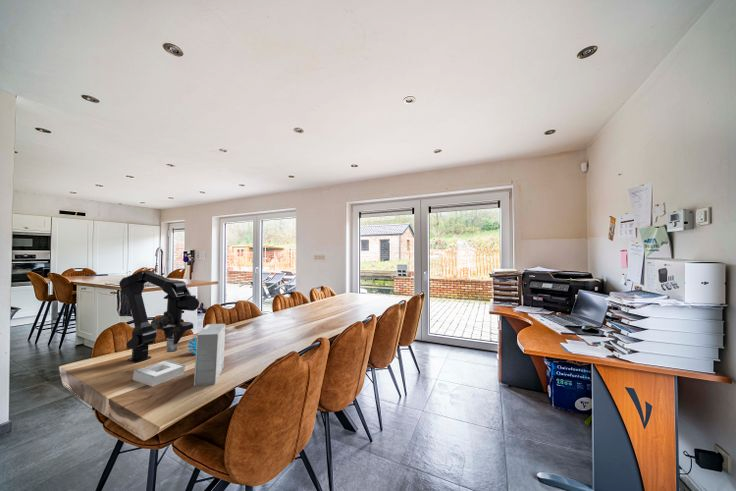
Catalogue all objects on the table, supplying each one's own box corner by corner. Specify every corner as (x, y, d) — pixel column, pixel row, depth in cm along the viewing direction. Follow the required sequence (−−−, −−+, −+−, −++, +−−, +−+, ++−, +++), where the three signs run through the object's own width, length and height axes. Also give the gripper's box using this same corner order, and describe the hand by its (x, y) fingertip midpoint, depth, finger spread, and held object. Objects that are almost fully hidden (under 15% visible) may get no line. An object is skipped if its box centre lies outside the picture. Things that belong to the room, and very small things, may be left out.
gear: (188, 354, 129) (188, 335, 135) (184, 360, 131) (185, 342, 137) (213, 352, 136) (212, 335, 142) (209, 358, 139) (209, 341, 145)
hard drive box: (204, 369, 117) (207, 323, 118) (223, 368, 120) (226, 323, 120) (192, 386, 103) (196, 334, 103) (215, 384, 105) (218, 333, 106)
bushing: (163, 351, 120) (164, 338, 120) (173, 348, 125) (174, 335, 125) (169, 353, 119) (170, 339, 119) (180, 349, 123) (181, 336, 123)
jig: (133, 379, 105) (133, 370, 106) (165, 368, 117) (166, 359, 117) (152, 386, 101) (153, 376, 101) (184, 374, 112) (184, 365, 112)
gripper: (141, 309, 118) (139, 345, 118) (169, 314, 111) (167, 352, 111) (168, 305, 128) (165, 338, 128) (195, 310, 122) (193, 344, 121)
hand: (172, 343), depth 122 cm, fingers closed on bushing, 4 cm apart
